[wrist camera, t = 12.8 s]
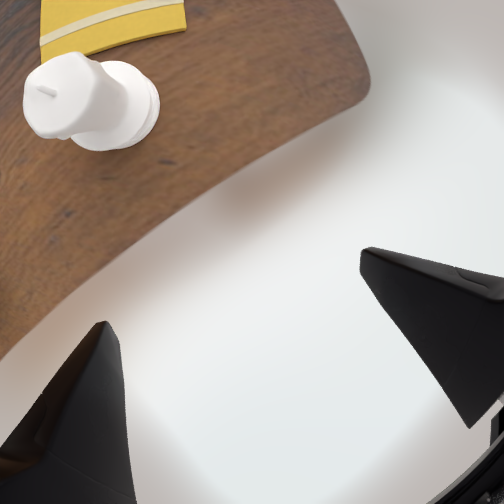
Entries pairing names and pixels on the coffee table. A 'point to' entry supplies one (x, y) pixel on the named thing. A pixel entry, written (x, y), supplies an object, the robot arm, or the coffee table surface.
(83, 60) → the candle
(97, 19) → the towel
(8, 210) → the coffee table surface
